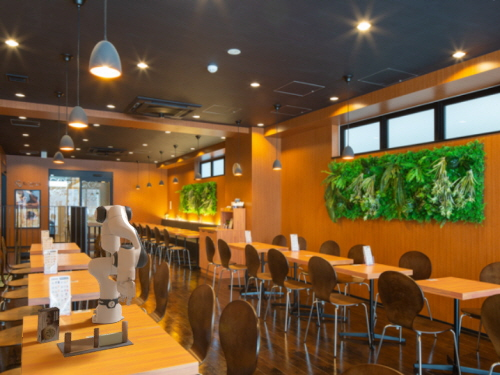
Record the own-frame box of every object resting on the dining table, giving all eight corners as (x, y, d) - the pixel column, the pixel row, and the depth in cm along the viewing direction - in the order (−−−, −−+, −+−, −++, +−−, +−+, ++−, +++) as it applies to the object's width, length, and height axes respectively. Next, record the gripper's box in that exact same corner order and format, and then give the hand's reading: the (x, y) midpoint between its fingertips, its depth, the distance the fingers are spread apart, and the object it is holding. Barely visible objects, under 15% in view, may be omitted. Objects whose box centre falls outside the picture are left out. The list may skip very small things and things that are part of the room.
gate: (98, 345, 193) (99, 324, 194) (126, 340, 201) (127, 320, 202) (100, 346, 191) (101, 326, 191) (128, 341, 198) (128, 321, 199)
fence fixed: (63, 352, 184) (64, 332, 184) (97, 345, 193) (98, 327, 193) (64, 354, 181) (65, 334, 182) (99, 347, 190) (99, 328, 191)
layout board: (56, 344, 196) (57, 343, 196) (120, 333, 214) (120, 332, 215) (64, 357, 178) (64, 356, 178) (133, 344, 196) (133, 343, 196)
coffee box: (55, 336, 207) (56, 306, 209) (59, 339, 203) (60, 308, 204) (36, 340, 201) (37, 309, 202) (40, 343, 197) (41, 311, 198)
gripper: (138, 278, 194) (138, 306, 193) (126, 273, 211) (125, 299, 210) (126, 279, 191) (125, 308, 190) (114, 274, 207) (113, 300, 206)
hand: (125, 303), depth 200 cm, fingers open, 8 cm apart
